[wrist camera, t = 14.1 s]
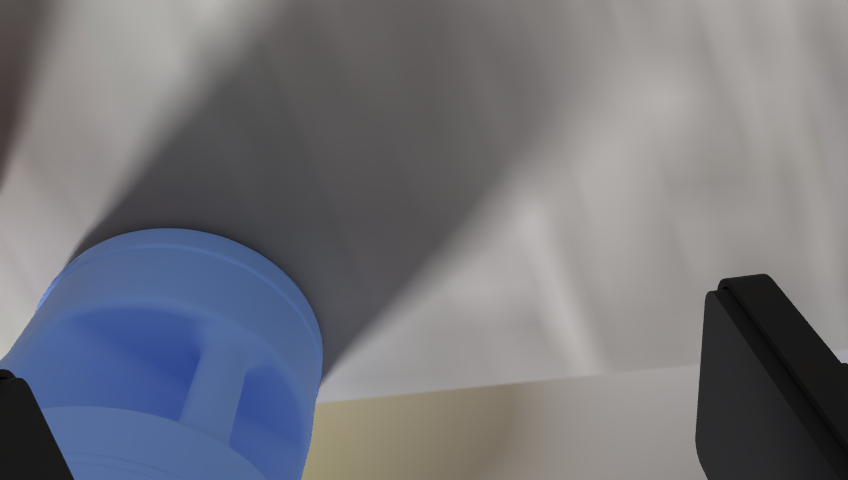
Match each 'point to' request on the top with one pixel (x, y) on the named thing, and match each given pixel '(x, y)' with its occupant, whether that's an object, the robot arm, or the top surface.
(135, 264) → the water jug
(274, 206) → the top surface
